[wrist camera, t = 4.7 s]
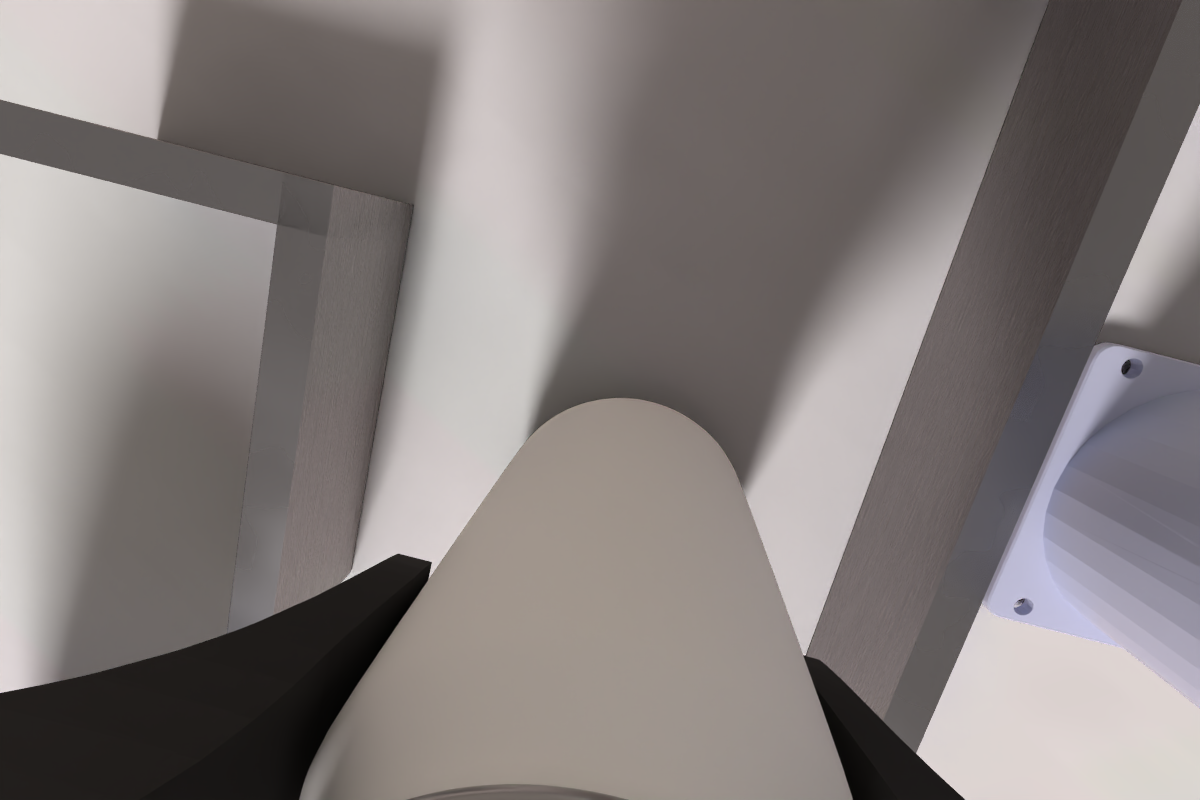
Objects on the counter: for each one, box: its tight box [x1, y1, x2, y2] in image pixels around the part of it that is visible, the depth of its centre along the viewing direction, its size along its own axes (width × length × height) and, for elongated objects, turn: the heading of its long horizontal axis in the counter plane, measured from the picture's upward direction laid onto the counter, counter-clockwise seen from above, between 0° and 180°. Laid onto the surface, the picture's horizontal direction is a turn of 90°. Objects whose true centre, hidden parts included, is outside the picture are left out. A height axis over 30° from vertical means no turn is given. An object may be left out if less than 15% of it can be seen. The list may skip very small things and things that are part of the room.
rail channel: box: [0, 0, 1200, 753], centre depth 14 cm, size 22×26×4 cm
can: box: [299, 398, 853, 800], centre depth 11 cm, size 6×6×12 cm
